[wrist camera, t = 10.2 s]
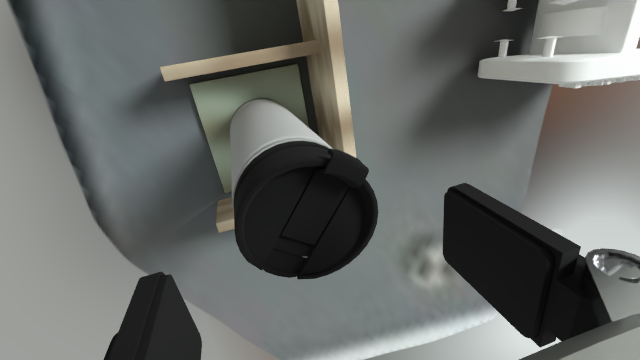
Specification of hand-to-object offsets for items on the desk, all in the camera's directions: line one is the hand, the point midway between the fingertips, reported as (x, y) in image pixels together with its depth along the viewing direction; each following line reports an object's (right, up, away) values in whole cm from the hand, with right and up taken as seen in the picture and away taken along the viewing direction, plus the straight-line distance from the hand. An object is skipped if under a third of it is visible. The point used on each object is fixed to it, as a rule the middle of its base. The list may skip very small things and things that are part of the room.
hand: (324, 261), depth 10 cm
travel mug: (-6, +8, +20) cm, 22 cm away
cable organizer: (+23, +20, +25) cm, 39 cm away
